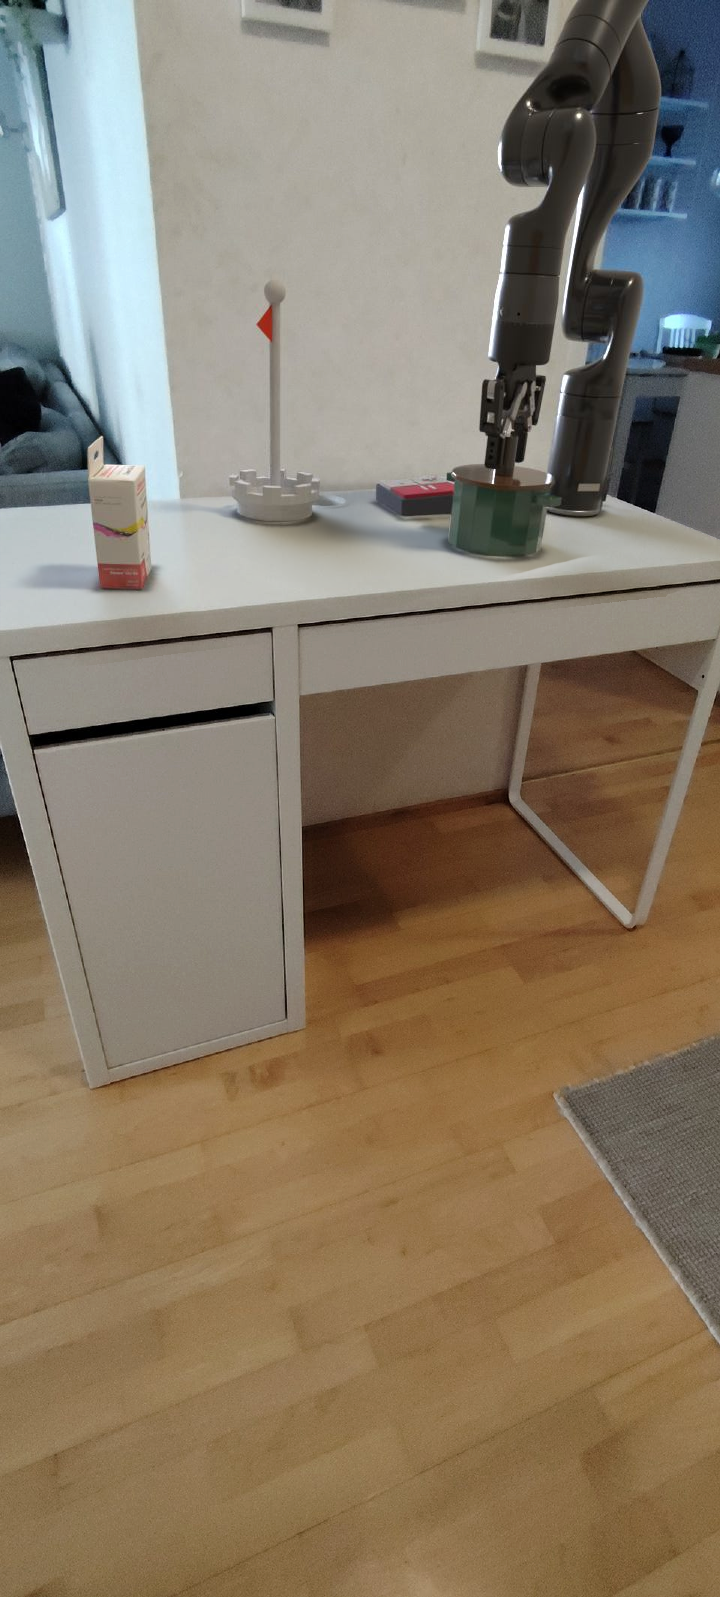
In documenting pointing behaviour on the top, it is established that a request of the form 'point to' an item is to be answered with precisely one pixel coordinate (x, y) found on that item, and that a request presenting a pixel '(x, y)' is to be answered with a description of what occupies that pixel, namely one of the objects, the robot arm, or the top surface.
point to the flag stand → (274, 443)
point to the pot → (498, 519)
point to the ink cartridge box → (119, 521)
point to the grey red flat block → (416, 495)
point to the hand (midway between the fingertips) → (504, 464)
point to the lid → (504, 473)
